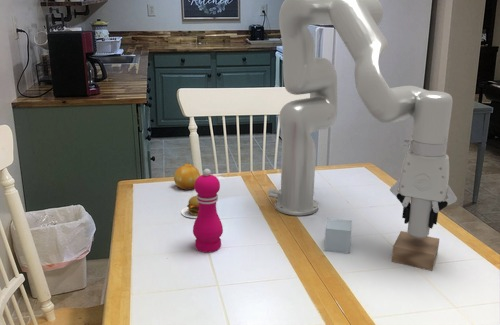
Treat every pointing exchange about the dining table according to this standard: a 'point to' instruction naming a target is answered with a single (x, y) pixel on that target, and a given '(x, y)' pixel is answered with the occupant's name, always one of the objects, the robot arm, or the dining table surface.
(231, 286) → the dining table surface
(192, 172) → the fruit
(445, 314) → the dining table surface
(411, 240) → the walnut block
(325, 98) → the robot arm
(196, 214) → the hamburger
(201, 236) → the pepper mill
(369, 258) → the dining table surface
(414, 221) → the beverage can
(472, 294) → the dining table surface
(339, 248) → the grey-blue block
